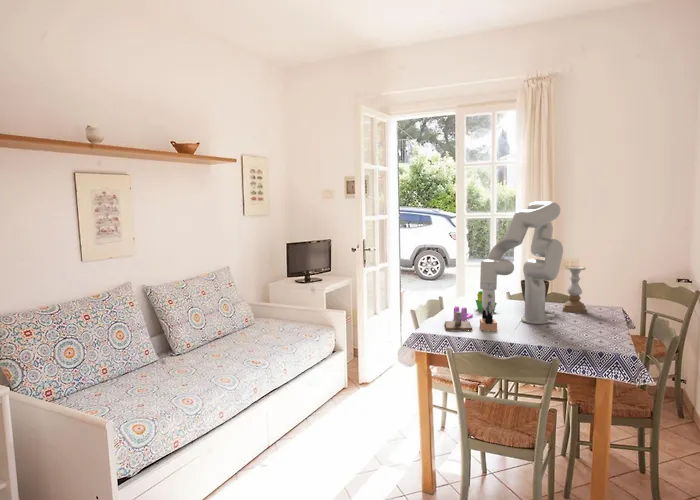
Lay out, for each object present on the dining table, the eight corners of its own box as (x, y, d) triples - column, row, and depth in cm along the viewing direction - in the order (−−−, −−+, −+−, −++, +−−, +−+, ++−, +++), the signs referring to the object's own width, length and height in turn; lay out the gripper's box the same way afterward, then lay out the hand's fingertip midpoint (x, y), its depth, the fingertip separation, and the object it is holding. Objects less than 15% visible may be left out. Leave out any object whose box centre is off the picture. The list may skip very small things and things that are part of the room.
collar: (494, 327, 238) (494, 319, 238) (497, 331, 231) (497, 322, 231) (479, 326, 239) (479, 318, 238) (481, 330, 232) (481, 322, 231)
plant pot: (553, 312, 263) (553, 283, 261) (525, 313, 263) (525, 284, 262) (542, 306, 278) (543, 278, 276) (516, 307, 278) (516, 279, 276)
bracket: (463, 321, 250) (463, 308, 249) (453, 320, 253) (453, 307, 253) (474, 316, 260) (474, 303, 259) (464, 315, 264) (464, 302, 263)
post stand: (469, 324, 244) (469, 309, 243) (472, 331, 232) (472, 315, 231) (444, 324, 245) (444, 309, 244) (446, 330, 233) (446, 315, 233)
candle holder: (585, 308, 270) (586, 266, 268) (584, 313, 261) (586, 269, 258) (564, 307, 275) (565, 265, 273) (562, 311, 266) (563, 268, 263)
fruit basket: (497, 312, 267) (497, 291, 266) (482, 313, 265) (483, 293, 264) (486, 307, 278) (486, 288, 277) (472, 308, 276) (472, 289, 275)
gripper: (499, 289, 224) (498, 326, 225) (493, 283, 241) (492, 317, 242) (482, 288, 224) (481, 325, 226) (477, 282, 242) (476, 316, 243)
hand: (487, 321), depth 234 cm, fingers open, 9 cm apart
